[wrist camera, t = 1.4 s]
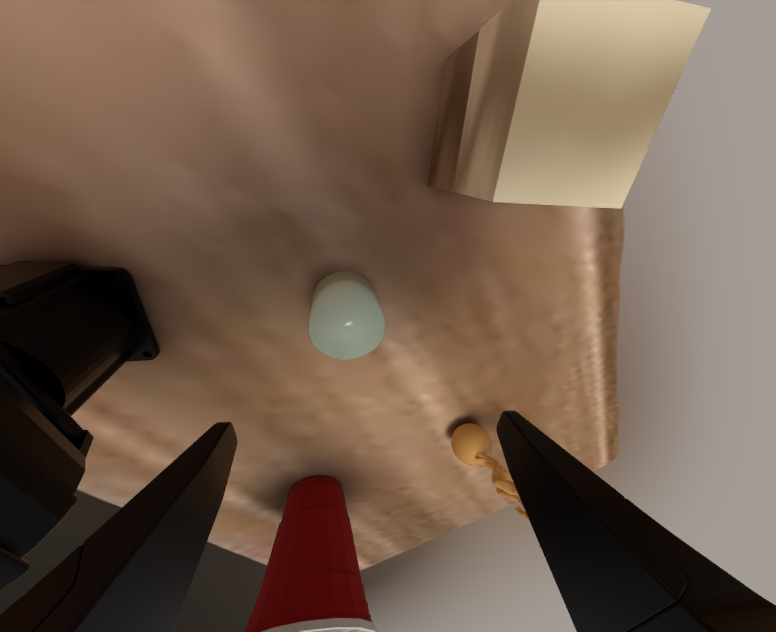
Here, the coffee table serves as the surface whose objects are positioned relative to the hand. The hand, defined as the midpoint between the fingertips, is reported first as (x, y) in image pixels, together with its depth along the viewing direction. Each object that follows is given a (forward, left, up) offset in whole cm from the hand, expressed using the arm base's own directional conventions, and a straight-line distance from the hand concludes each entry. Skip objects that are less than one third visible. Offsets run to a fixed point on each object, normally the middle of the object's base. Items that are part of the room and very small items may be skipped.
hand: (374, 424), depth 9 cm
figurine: (-16, -14, -12) cm, 25 cm away
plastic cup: (-25, +3, -12) cm, 28 cm away
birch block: (+10, -8, -8) cm, 15 cm away
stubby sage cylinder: (-1, 0, -12) cm, 12 cm away
